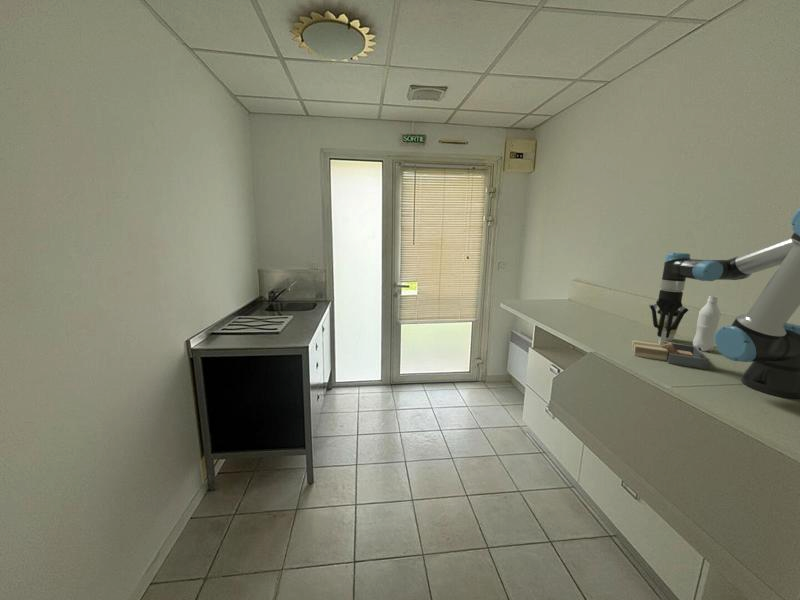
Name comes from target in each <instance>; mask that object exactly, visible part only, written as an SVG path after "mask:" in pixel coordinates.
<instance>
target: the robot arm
mask: <svg viewBox="0 0 800 600" xmlns="http://www.w3.org/2000/svg"><path fill="white" fill-rule="evenodd" d="M790 224H791V225H792V227H791V229H792V231H793V233H792V235H790V236H788V237H786V238H783V239H780V240H777V241H775V242H772V243H770V244H767V245H764V246H762V247H761V246H760V248H756V249H754V250H751V251H748V252H746V253H743V254H740V255H737V256H734V257H733V258H732V257H731V258H729V259H695V258H691V254H690V253H687V252H669V253H667V254H666V256H665V260H664V262H663V264H664V265H663V271H662V277H661V283H660V287H659V288H660V290H659V293H658V299H657V301H656V302H655V303H653V304H649V305H648V307H649V308H650V310H651V315H652V316H651V317H652V323H653V327H654V328H656V329H657V328H658V333H657V332H656V336H657V335H658V337H660V339H658V343H659V344H660V345H664V344H665V342H666V341H665V339H666V338H668V337H669V334H670V331H671V330H676V329H677V330H678V328H679V324H680V323H681V322H682V320H683V317H684V315H685V314H686V313H687V312H689V309H688V308H687V307H685V306H683V303H682V301H683V294H684V292H683V291H684V289H685V283H686V279H691V280H698V281H702V282H714V281H717V280H720V281H721V280H723V281H724V280H725V281H727V280H728V281H729V280H730V281H737V280H744V279H745V280H746V279H747V278H749V277H750V276H751V275H752V274H754V273H757V272H761V271H764V270H767V269H771V268H774V267H777V266H778V267H777V269H776V271H775V272H774V273H773V275H772V277H771V278H770V279H769V281H768V283H767V284H766V285H765V287H764V288H763V289H762V291H761V292H760V293H759V295H758V296H757V299H755V301H754V302H753V304H752V306H751V307H750V309H749V310H747V313H742V314H739V315H737V316H736V318H735V319H734V320H733V322H732V323H731V325H725V326H722V327H720V328H719V329H717V330H716V333H715V337H714V345H716V346H715V347H716V349H717V351H718V353H720V355H721V356H723V357H724V358H726V359H727V360H730V361H733V362H741V363H742V362H743V363H751V362H752V363H751V364H749V366H748V367H747V368H746V370H745V371H744V372H743V374H742V375H741V379H740V380H741V381H740V382H741V383H742V384H743V385H744V386H746V387H749V388H751V389H753V390H755V391H760V392H762V393H765V394H769V395H771V396H772V395H773V396H776V397H781V398H788V399H798V400H800V325H798V324H794V323H789V322H788V321H789V320H790V319H791V317H792V316H793V314H794V313H795V312H796V311H797V310H798V308H799V307H800V207H798V209H796V211H795V213H793V216H792V218H791V223H790ZM657 307H658V308H659V309H660V310H661V315H660V321H659V325H658V323H657V318H658V314H657V310H656V309H657ZM659 309H658V310H659ZM677 310H680V312H679V314H678V316H677V317H676V319H675V321H674V323H673V325H672V320H673V315H674V312H675V311H677ZM666 312H668V319H667V325H666V329H663V326H664V320H665V315H666ZM671 325H672V326H671ZM677 327H678V328H677Z"/></svg>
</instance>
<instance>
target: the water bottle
mask: <svg viewBox="0 0 800 600" xmlns="http://www.w3.org/2000/svg"><path fill="white" fill-rule="evenodd" d="M718 298H719V296H718V295H710V294H709V296H708V299H706V301H707V302H706V304H705V305H703V306H702V308H701V309H700V310H699V312H698V317H697V321H696V332H695V335H694V338H693V340H692V346H696V347H697V348H698V349H699V350H700V349H701V350H700V351H701V352H711V351H713V348H714V347H715V340H714V339H715V334H716V332H717V331H718V327H719V322H720V318H721V316H722V314H721V311H720V309H719V307H718V303H719V300H718Z"/></svg>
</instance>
